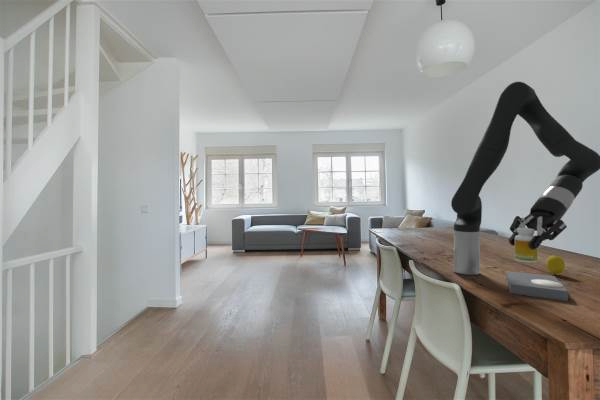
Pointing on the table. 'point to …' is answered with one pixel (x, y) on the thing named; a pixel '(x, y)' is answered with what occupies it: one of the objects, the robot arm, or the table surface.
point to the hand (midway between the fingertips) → (521, 245)
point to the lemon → (555, 264)
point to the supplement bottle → (524, 246)
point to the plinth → (536, 285)
